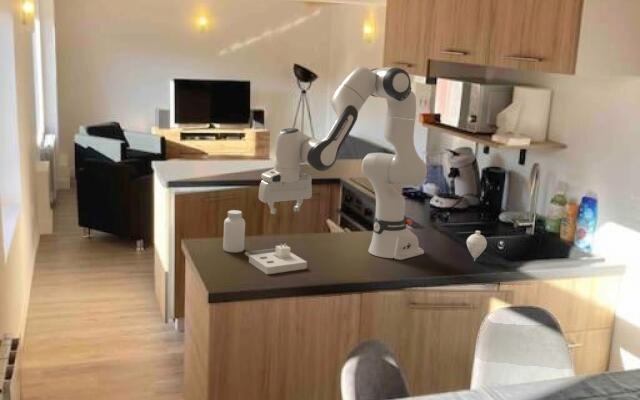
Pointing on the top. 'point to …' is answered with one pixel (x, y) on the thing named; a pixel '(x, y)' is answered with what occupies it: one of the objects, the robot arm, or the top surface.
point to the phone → (259, 252)
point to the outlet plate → (277, 263)
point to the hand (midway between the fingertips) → (284, 212)
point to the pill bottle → (234, 232)
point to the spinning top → (476, 244)
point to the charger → (282, 251)
